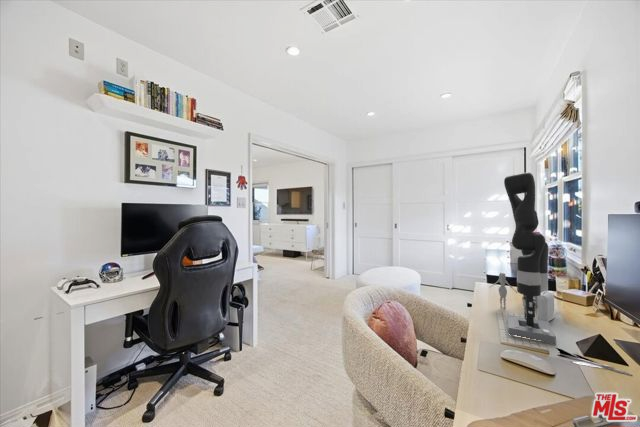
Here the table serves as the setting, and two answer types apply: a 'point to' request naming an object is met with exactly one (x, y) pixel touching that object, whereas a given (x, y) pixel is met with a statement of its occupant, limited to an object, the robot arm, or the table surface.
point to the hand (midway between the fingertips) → (529, 322)
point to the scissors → (588, 361)
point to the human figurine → (502, 288)
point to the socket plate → (531, 329)
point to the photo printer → (545, 306)
